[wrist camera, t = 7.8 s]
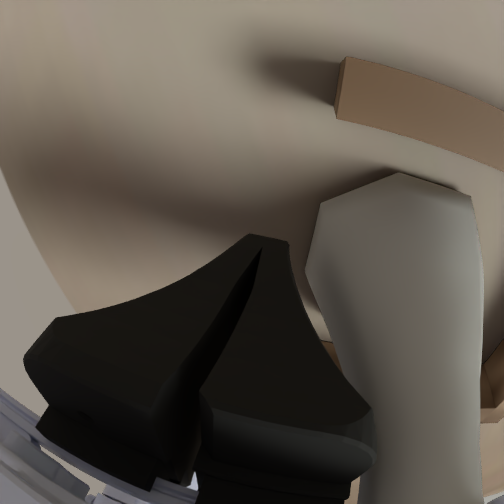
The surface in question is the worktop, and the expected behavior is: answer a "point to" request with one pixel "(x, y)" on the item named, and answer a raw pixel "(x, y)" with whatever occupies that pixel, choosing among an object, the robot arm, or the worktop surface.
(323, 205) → the flask
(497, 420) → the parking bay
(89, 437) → the robot arm
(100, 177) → the worktop surface
